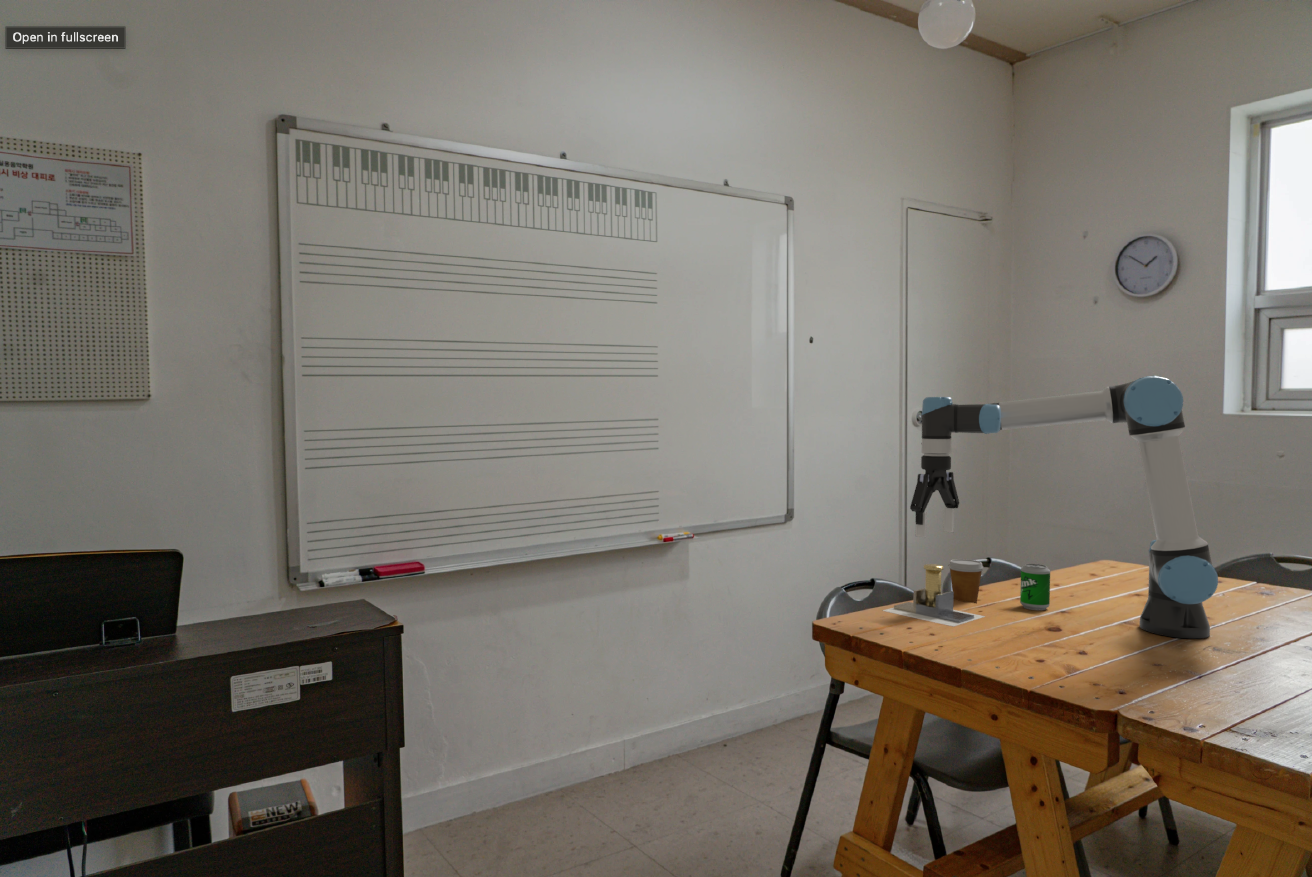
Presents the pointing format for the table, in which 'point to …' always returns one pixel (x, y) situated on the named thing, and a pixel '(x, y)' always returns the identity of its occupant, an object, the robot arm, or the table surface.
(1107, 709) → the table surface
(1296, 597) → the table surface
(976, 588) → the disposable coffee cup
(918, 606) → the hinge
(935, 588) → the pin
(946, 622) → the board
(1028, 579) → the soda can
